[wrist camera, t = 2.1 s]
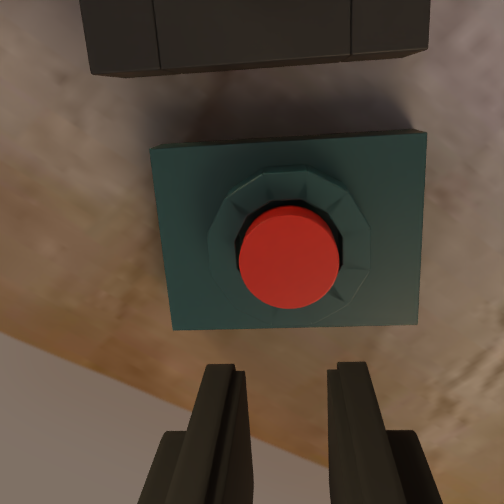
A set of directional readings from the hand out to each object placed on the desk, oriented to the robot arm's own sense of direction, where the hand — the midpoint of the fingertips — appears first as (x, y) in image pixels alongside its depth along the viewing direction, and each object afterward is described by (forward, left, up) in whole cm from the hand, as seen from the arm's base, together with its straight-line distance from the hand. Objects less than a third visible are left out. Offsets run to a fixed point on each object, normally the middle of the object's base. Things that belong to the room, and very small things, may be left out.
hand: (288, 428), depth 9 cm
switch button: (0, 0, -12) cm, 12 cm away
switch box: (0, 0, -15) cm, 15 cm away
